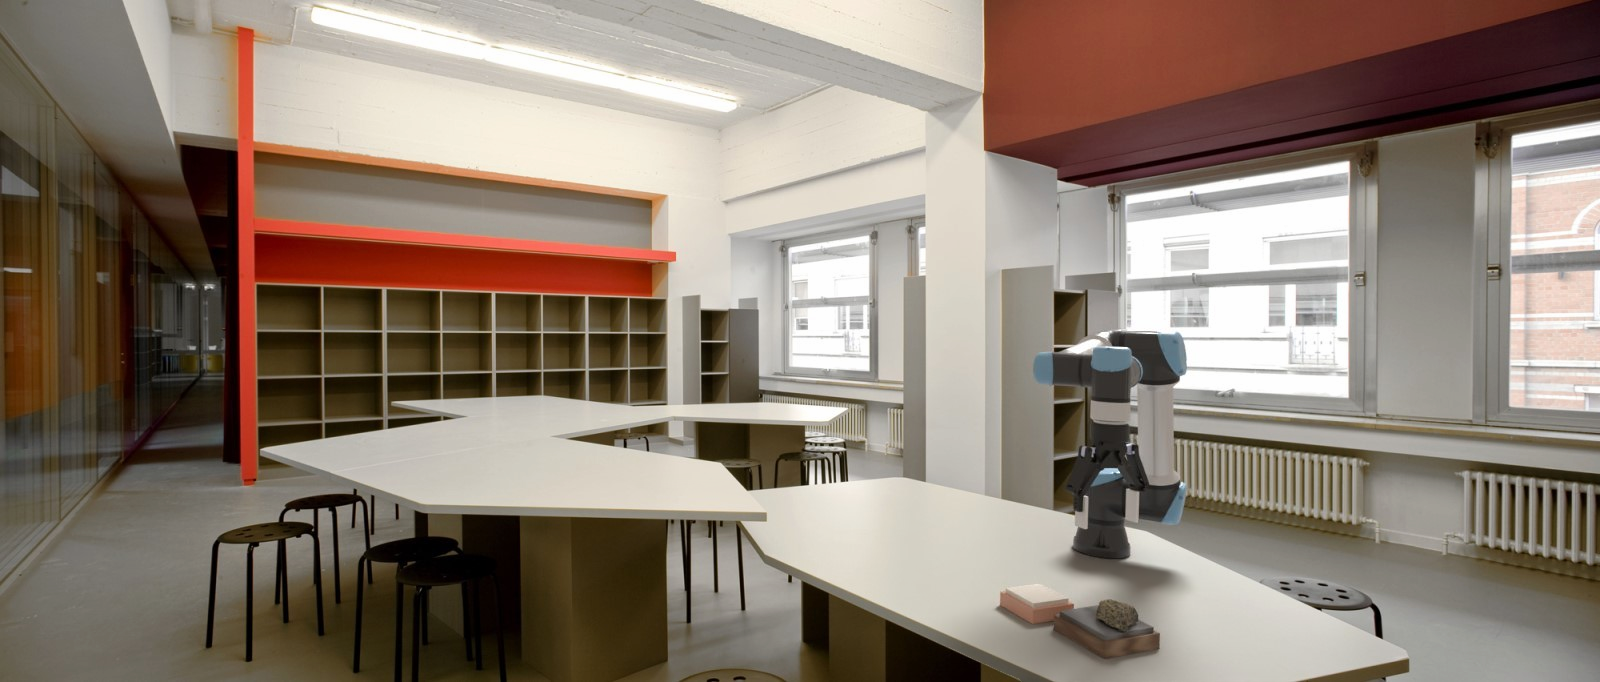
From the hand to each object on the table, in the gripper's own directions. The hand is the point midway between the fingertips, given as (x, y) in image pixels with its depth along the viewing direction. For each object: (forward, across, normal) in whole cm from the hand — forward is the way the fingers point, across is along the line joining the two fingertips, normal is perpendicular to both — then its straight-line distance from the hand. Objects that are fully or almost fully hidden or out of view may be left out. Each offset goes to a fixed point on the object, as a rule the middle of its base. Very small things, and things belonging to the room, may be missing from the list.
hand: (1106, 524), depth 147 cm
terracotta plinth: (+23, +6, -14) cm, 27 cm away
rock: (+19, +1, +5) cm, 19 cm away
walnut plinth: (+22, +2, +2) cm, 23 cm away
